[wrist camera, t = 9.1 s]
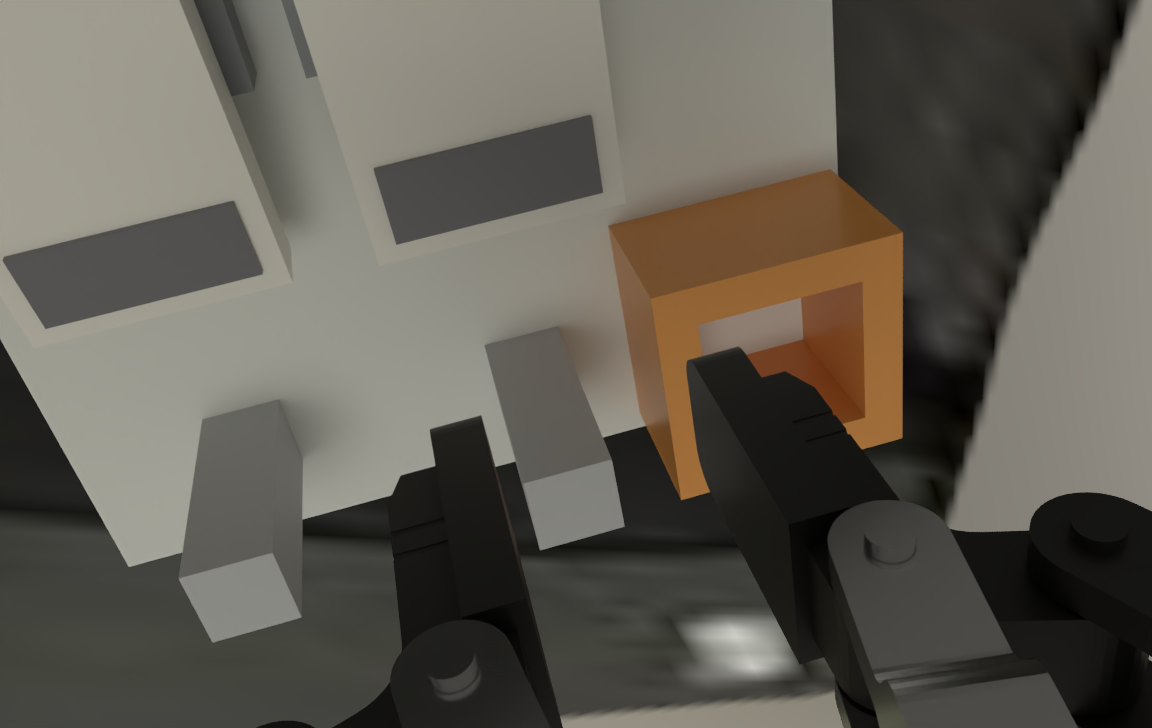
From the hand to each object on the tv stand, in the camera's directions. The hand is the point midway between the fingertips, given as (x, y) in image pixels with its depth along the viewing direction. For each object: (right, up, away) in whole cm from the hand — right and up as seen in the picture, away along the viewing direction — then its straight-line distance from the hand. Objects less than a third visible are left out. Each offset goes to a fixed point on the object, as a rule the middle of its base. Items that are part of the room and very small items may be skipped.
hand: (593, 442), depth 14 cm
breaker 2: (-3, +8, +6) cm, 11 cm away
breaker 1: (-10, +6, +5) cm, 13 cm away
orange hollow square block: (+4, +3, +14) cm, 15 cm away
